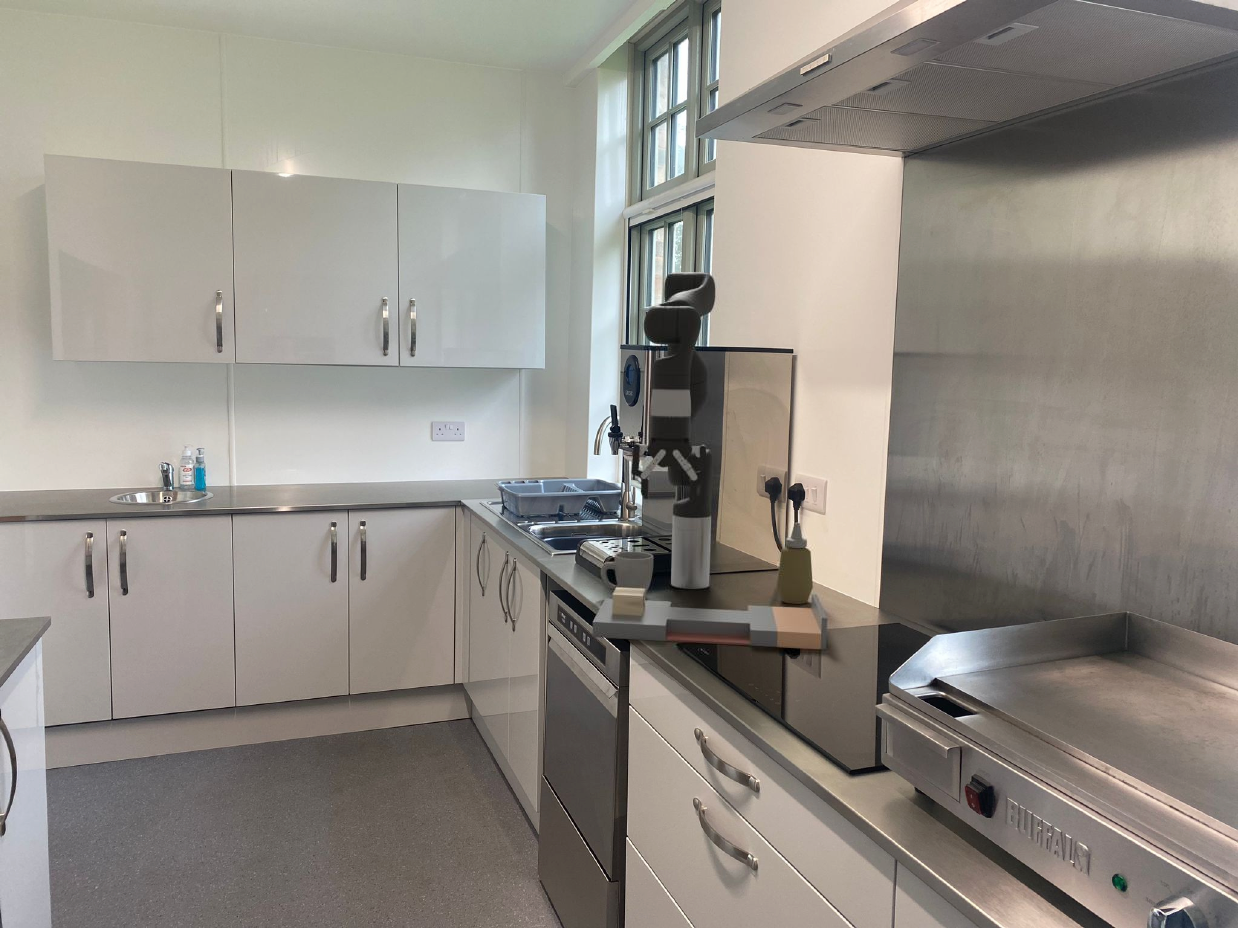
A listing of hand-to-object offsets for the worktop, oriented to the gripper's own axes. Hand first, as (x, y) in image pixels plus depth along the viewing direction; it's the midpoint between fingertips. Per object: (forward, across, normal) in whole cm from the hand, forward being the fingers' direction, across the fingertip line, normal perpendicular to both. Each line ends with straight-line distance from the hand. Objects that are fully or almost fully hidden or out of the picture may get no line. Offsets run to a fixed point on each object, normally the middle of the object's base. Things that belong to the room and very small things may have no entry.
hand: (668, 498), depth 163 cm
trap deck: (+27, -8, -6) cm, 29 cm away
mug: (+27, +10, -30) cm, 42 cm away
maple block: (+24, +8, -6) cm, 26 cm away
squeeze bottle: (+27, -28, -32) cm, 50 cm away
